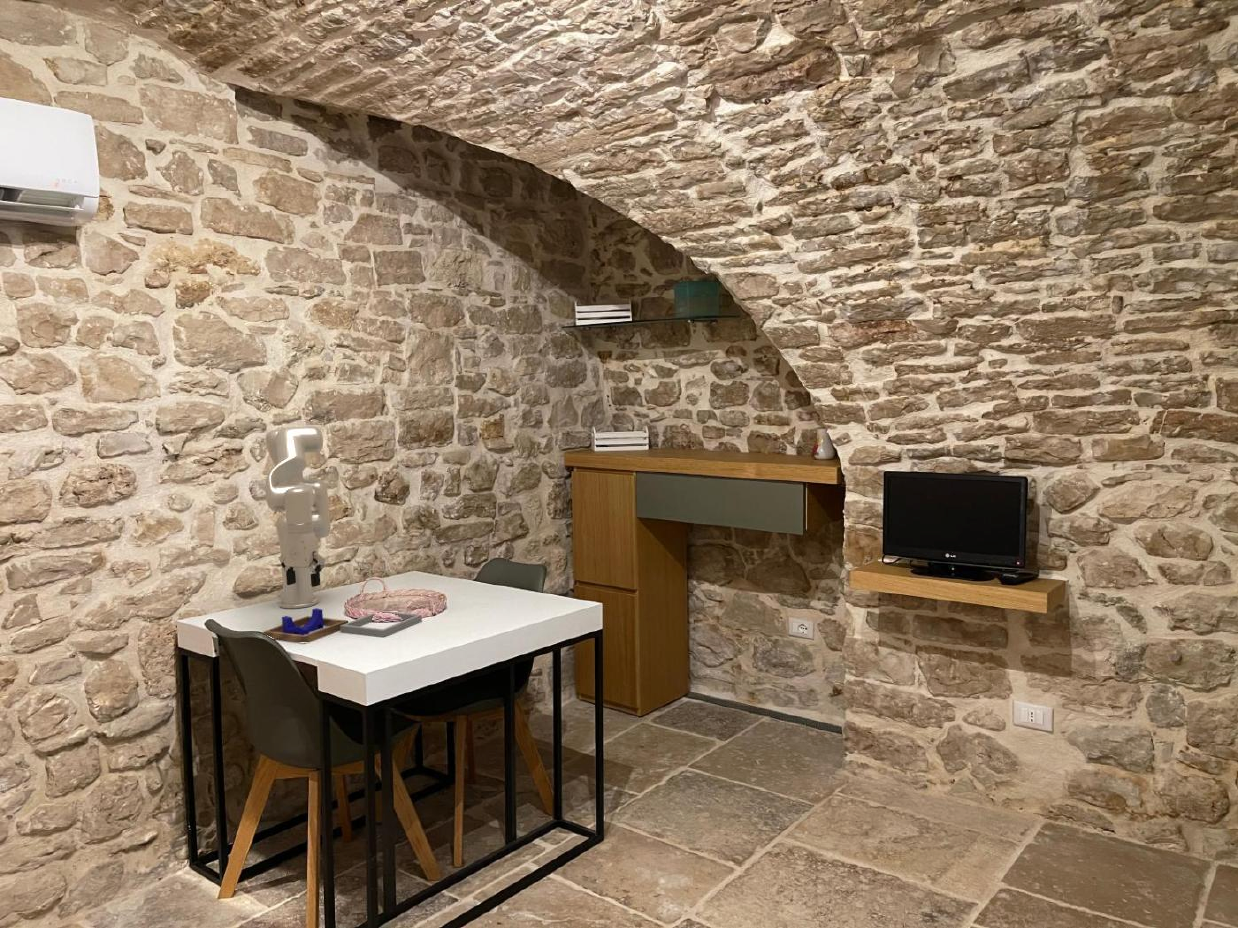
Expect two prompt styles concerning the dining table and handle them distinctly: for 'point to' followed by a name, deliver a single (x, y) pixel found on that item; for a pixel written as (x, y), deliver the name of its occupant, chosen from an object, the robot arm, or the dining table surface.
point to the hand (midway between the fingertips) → (303, 585)
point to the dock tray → (355, 629)
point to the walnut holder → (333, 627)
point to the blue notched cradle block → (312, 625)
